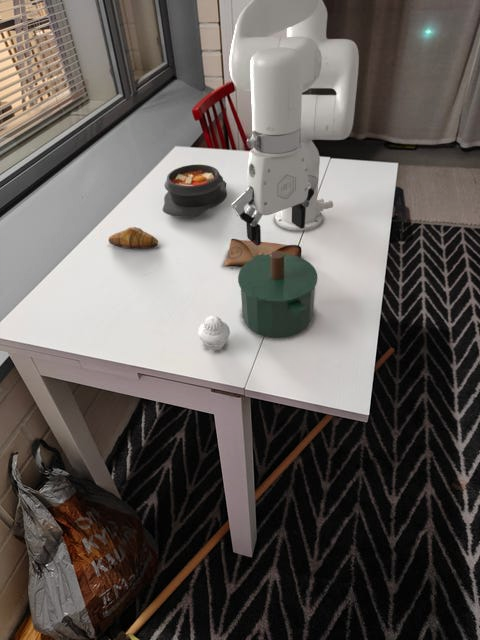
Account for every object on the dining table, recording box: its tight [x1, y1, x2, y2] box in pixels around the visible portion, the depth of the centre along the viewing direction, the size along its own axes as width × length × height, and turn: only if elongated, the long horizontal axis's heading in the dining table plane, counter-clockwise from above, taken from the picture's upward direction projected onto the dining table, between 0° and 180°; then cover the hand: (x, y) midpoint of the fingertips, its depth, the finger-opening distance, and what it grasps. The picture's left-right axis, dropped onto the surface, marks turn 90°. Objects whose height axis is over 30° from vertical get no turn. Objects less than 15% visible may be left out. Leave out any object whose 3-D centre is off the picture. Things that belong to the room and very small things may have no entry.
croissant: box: [108, 226, 159, 250], centre depth 119 cm, size 14×7×5 cm, turn 78°
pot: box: [240, 254, 316, 339], centre depth 94 cm, size 15×20×10 cm
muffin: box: [197, 315, 231, 351], centre depth 89 cm, size 6×6×7 cm
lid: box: [237, 251, 319, 303], centre depth 89 cm, size 16×16×6 cm
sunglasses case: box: [223, 238, 303, 268], centre depth 111 cm, size 18×7×7 cm
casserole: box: [162, 164, 228, 218], centre depth 134 cm, size 25×19×8 cm
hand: (276, 233), depth 84 cm, fingers open, 9 cm apart
